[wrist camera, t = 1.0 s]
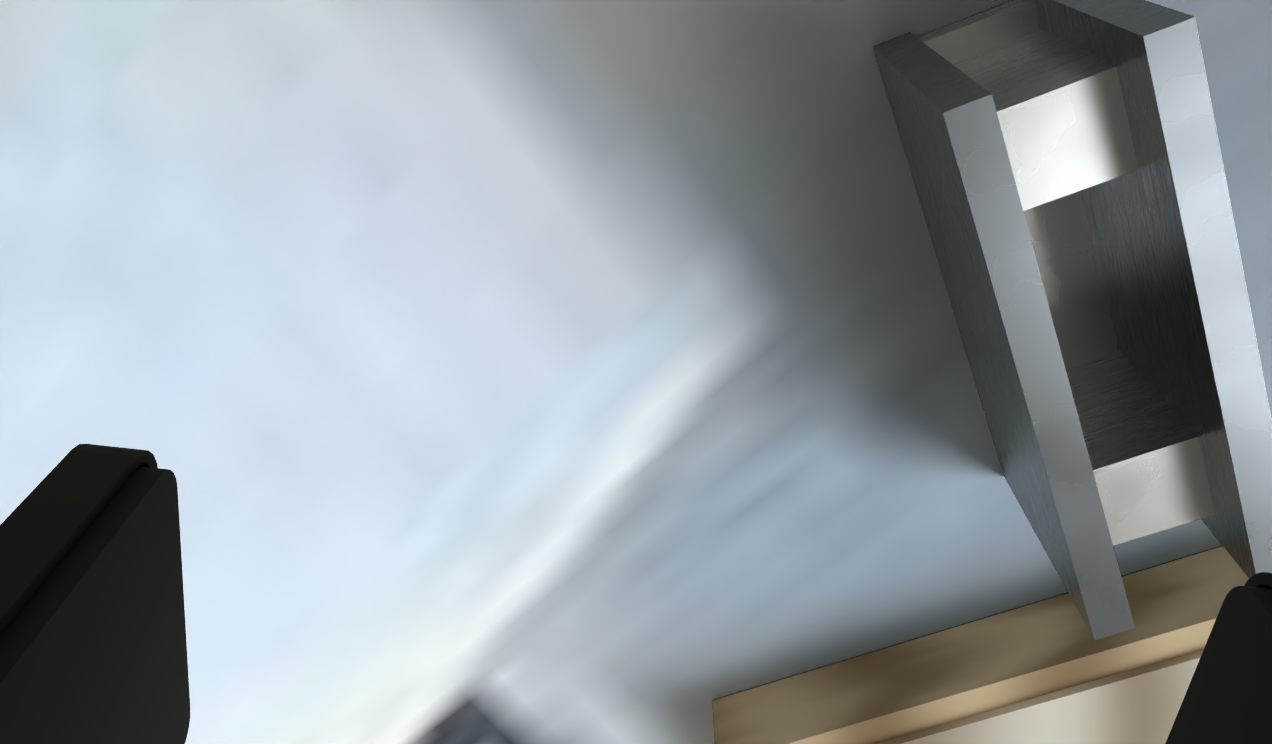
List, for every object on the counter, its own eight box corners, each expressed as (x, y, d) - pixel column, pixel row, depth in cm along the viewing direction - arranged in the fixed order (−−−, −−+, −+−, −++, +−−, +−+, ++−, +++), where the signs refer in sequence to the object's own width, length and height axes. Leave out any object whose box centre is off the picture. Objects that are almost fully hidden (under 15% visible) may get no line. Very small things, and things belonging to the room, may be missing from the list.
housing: (1060, -28, 29) (1195, 16, 22) (1166, 424, 35) (1302, 579, 28) (873, 46, 30) (942, 112, 23) (1004, 477, 36) (1094, 640, 28)
